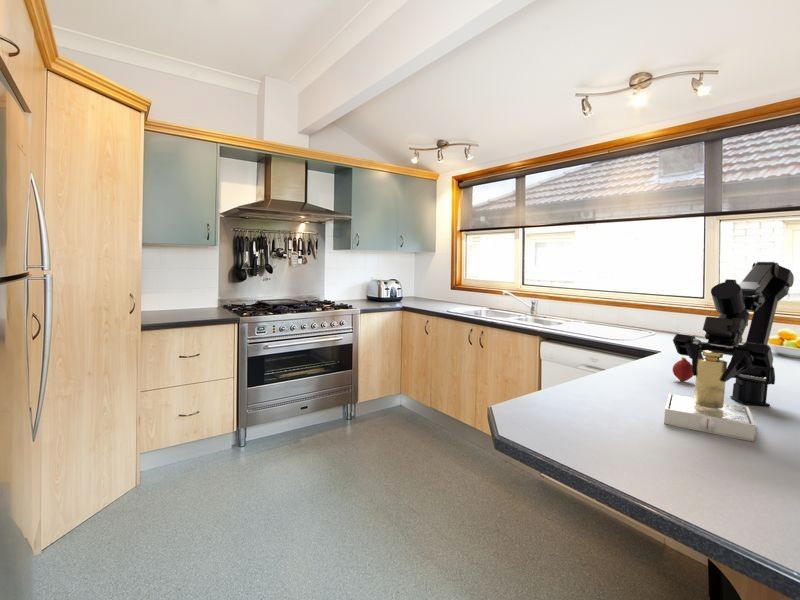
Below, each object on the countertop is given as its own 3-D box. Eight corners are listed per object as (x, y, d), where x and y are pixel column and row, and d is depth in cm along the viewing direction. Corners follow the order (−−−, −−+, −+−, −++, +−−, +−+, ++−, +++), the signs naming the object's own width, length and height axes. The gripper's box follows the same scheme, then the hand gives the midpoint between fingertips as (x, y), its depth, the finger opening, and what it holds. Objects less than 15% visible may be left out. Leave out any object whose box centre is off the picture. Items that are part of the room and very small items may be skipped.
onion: (686, 380, 142) (688, 356, 142) (697, 384, 136) (699, 359, 136) (668, 378, 143) (670, 355, 142) (677, 383, 137) (679, 358, 136)
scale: (668, 406, 111) (669, 393, 111) (746, 421, 102) (748, 406, 102) (663, 424, 98) (665, 409, 98) (754, 442, 89) (755, 426, 89)
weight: (700, 399, 104) (704, 348, 103) (727, 406, 99) (732, 353, 98) (689, 402, 101) (693, 350, 100) (716, 410, 96) (721, 355, 95)
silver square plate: (672, 398, 110) (673, 394, 110) (743, 410, 102) (743, 406, 102) (669, 411, 98) (670, 408, 98) (749, 426, 90) (749, 423, 90)
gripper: (679, 301, 108) (655, 348, 103) (774, 308, 93) (753, 364, 88) (689, 330, 113) (667, 376, 108) (781, 341, 98) (761, 396, 93)
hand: (708, 377), depth 99 cm, fingers closed on weight, 6 cm apart
